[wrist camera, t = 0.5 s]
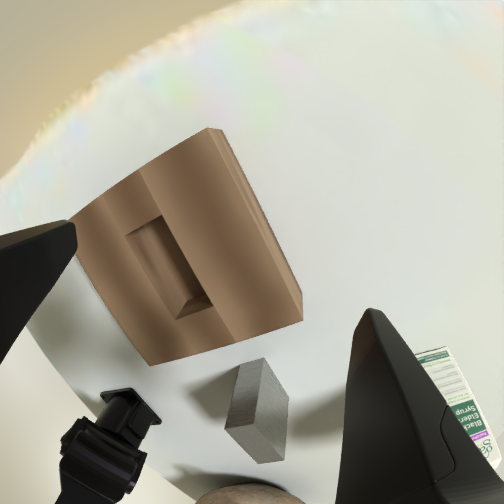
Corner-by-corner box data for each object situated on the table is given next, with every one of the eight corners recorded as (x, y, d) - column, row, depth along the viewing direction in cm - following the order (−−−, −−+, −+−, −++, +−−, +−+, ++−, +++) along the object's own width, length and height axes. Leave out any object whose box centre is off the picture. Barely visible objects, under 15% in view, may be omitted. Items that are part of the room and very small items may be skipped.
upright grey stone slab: (266, 402, 29) (258, 463, 22) (240, 364, 28) (224, 428, 20) (288, 397, 29) (284, 460, 21) (264, 357, 27) (253, 424, 20)
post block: (165, 340, 28) (149, 366, 24) (88, 213, 24) (60, 226, 20) (302, 293, 24) (303, 320, 20) (222, 129, 20) (206, 127, 17)
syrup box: (448, 343, 24) (506, 457, 11) (440, 383, 26) (481, 488, 13) (396, 357, 25) (437, 486, 12) (394, 396, 27) (421, 511, 14)
